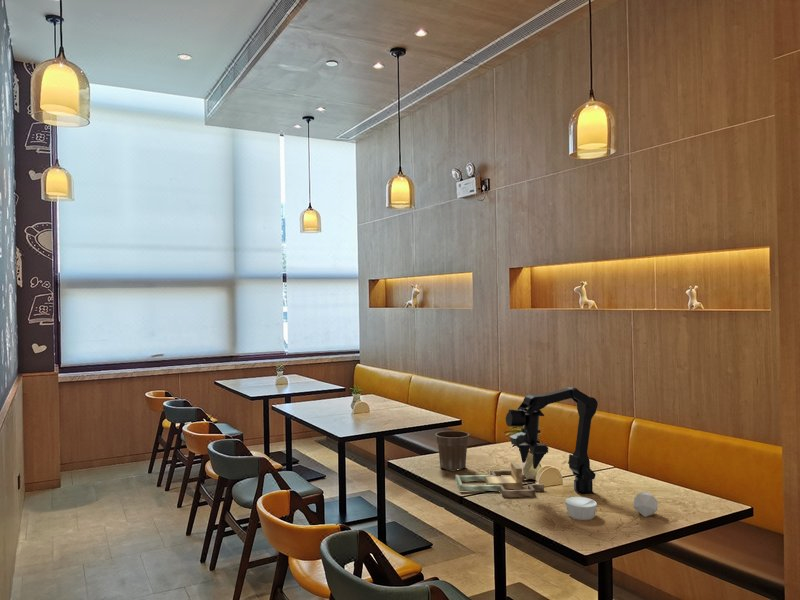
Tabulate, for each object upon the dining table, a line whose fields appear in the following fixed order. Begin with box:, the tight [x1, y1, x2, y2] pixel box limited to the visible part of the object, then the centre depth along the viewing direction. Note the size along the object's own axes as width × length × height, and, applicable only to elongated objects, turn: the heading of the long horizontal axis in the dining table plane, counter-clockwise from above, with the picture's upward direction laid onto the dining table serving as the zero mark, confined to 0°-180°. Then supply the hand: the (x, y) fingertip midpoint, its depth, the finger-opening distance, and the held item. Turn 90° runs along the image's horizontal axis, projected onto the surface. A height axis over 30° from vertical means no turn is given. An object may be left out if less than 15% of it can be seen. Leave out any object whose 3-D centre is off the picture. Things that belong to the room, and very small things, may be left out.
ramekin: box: [564, 496, 598, 521], centre depth 220 cm, size 11×11×5 cm
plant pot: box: [435, 430, 470, 471], centre depth 286 cm, size 16×16×16 cm
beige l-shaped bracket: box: [484, 461, 523, 490], centre depth 257 cm, size 14×10×9 cm
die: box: [632, 491, 659, 518], centre depth 221 cm, size 8×9×10 cm
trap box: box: [455, 469, 545, 498], centre depth 257 cm, size 35×29×3 cm
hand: (529, 465), depth 241 cm, fingers open, 9 cm apart
